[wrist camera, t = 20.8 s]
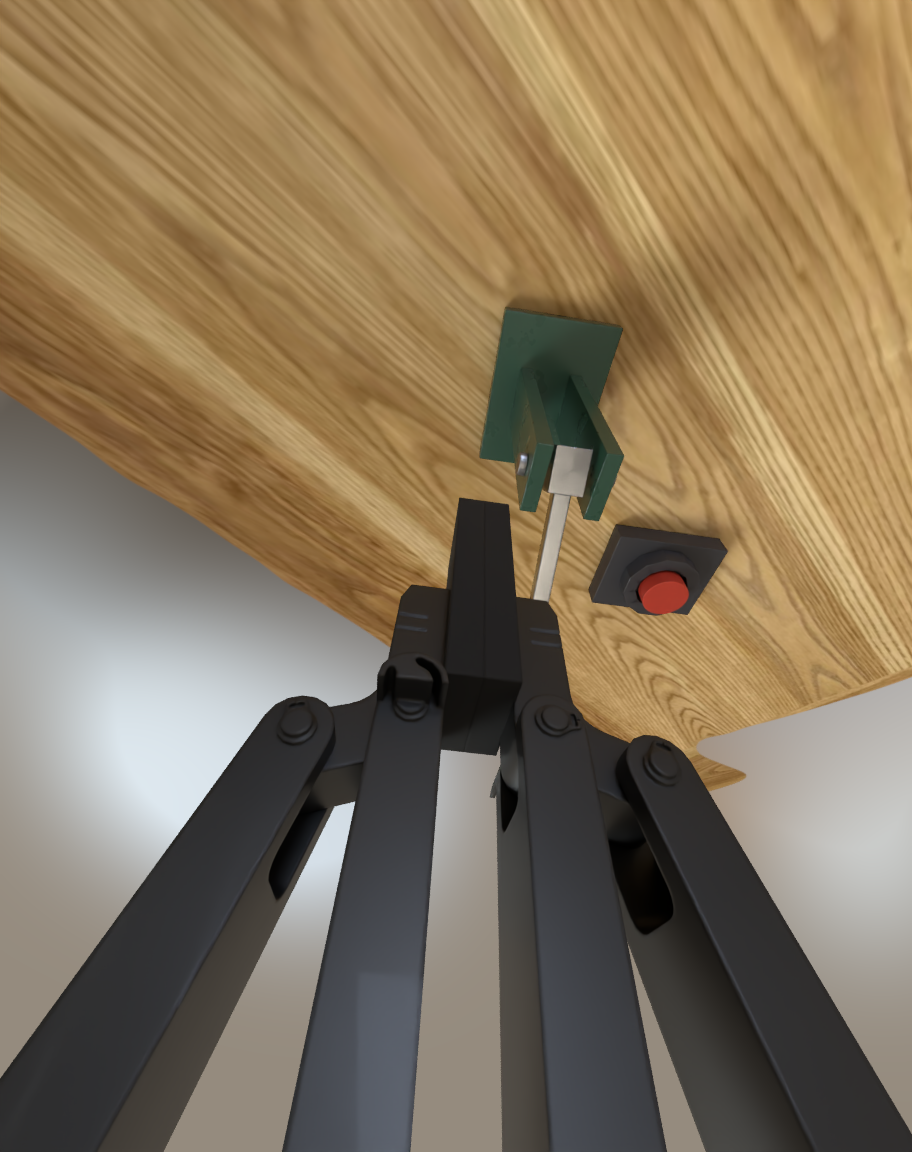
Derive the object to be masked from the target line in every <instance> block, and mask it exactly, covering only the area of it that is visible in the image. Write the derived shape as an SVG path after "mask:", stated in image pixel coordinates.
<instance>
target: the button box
mask: <svg viewBox="0 0 912 1152" xmlns="http://www.w3.org/2000/svg"><path fill="white" fill-rule="evenodd" d="M727 552H728V551H727V549H726V548H725V546H724V545H723V543H722V542H721V540H720V539H717V538H710V537H702V536H695V535H688V534H681V533H674V532H667V531H660V530H652V529H645V528H638V527H631V526H624V525H616V526H615V528H614V531H613V533H612V535H611V538H610V540H609V543H608V545H607V547H606V550H605V552H604V554H603V557H602V559H601V561H600V564H599V566H598V569H597V571H596V573H595V576H594V578H593V580H592V583H591V585H590V587H589V593H590V597H591V600H592V602H594V603H601V604H609V605H617V606H624V607H630V608H632V609H633V610H634V611H636V612H637V613H640V614H648V615H655V616H657V615H662V614H655V613H651V612H649V611H648V610H646V609H645V608H644V606H643V604H642V601H641V599H640V596H639V593H638V588H639V585H640V583H641V582H642V581H643V580H644V579H645V578H646V577H647V576H649V575H651V574H653V573H656V572H660V571H672V572H675V573H677V574H679V575H680V576H681V577H682V579H683V581H684V583H685V585H686V587H687V589H688V592H689V596H688V599H687V601H686V603H685V604H684V605H683V606H682V607H680V608H679V609H677V610H675V611H673V612H670V613H677V614H685V615H688V613H689V612H690V610H691V609H692V607H693V605H694V604H695V602H696V601H697V599H698V598H699V596H700V594H701V593H702V591H703V590H704V588H705V587H706V585H707V583H708V582H709V580H710V579H711V577H712V576H713V574H714V573H715V571H716V569H717V568H718V566H719V565H720V563H721V562H722V560H723V558H724V557H725V555H726V554H727Z"/></svg>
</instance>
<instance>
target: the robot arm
mask: <svg viewBox="0 0 912 1152" xmlns="http://www.w3.org/2000/svg"><path fill="white" fill-rule="evenodd" d="M559 633H560V631H559V625H558V619H557V615H556V614H555V612H554V611H553V609H552V608H551V607H550V605H549V604H548V602H547V601H543V600H536V599H528V598H520V597H516V590H515V577H514V565H513V552H512V539H511V526H510V514H509V505H508V504H501V503H494V502H487V501H480V500H473V499H465V498H459V504H458V510H457V517H456V523H455V529H454V536H453V542H452V549H451V555H450V561H449V568H448V578H447V588H446V589H442V588H435V587H427V586H419V585H411V586H410V587H409V588H408V590H407V591H406V592H405V593H404V594H403V595H402V596H401V600H400V604H399V609H398V615H397V619H396V624H395V628H394V633H393V638H392V643H391V648H390V652H389V658H388V660H387V661H386V662H384V663H383V664H382V666H381V668H380V671H379V673H378V677H377V690H376V691H375V692H373V693H372V694H371V695H370V696H368V697H366V698H365V699H362V700H360V701H357V702H353V703H350V704H345V705H338V706H333V707H329V706H328V705H327V704H326V703H324V702H323V701H321V700H319V699H318V698H315V697H309V696H298V697H291V698H287V699H286V700H283V701H281V702H280V703H277V704H275V705H274V706H273V707H272V708H271V709H270V710H269V711H268V712H267V713H266V714H265V716H264V717H263V718H262V719H261V721H260V722H259V724H258V725H257V726H256V728H255V729H254V730H253V732H252V733H251V735H250V736H249V737H248V739H247V740H246V741H245V743H244V744H243V746H242V747H241V748H240V750H239V751H238V752H237V754H236V755H235V757H234V758H233V759H232V761H231V762H230V763H229V765H228V766H227V768H226V769H225V770H224V772H223V773H222V775H221V776H220V777H219V779H218V780H217V781H216V783H215V784H214V785H213V787H212V788H211V790H210V791H209V793H208V794H207V795H206V796H205V798H204V799H203V801H202V802H201V803H200V805H199V806H198V807H197V809H196V810H195V812H194V813H193V814H192V816H191V817H190V818H189V820H188V821H187V823H186V824H185V825H184V827H183V828H182V829H181V831H180V832H179V834H178V835H177V836H176V838H175V839H174V840H173V842H172V843H171V845H170V846H169V848H168V849H167V850H166V851H165V853H164V854H163V856H162V857H161V858H160V860H159V861H158V863H157V864H156V865H155V867H154V868H153V869H152V871H151V872H150V873H149V875H148V876H147V878H146V879H145V881H144V882H143V883H142V884H141V886H140V887H139V889H138V890H137V891H136V893H135V894H134V895H133V897H132V898H131V900H130V901H129V903H128V904H127V905H126V906H125V908H124V909H123V911H122V912H121V913H120V915H119V916H118V917H117V919H116V920H115V922H114V923H113V925H112V926H111V927H110V928H109V930H108V931H107V933H106V934H105V935H104V937H103V938H102V939H101V941H100V942H99V944H98V945H97V946H96V948H95V949H94V950H93V952H92V953H91V955H90V956H89V957H88V959H87V960H86V962H85V963H84V964H83V966H82V967H81V968H80V970H79V971H78V973H77V974H76V975H75V977H74V978H73V979H72V981H71V982H70V983H69V985H68V986H67V988H66V989H65V990H64V992H63V993H62V994H61V996H60V997H59V999H58V1000H57V1001H56V1003H55V1004H54V1005H53V1007H52V1008H51V1010H50V1011H49V1012H48V1014H47V1015H46V1016H45V1018H44V1019H43V1021H42V1022H41V1023H40V1025H39V1026H38V1027H37V1029H36V1031H35V1032H34V1033H33V1034H32V1036H31V1037H30V1038H29V1040H28V1041H27V1043H26V1044H25V1045H24V1047H23V1048H22V1050H21V1051H20V1052H19V1054H18V1055H17V1056H16V1058H15V1059H14V1060H13V1062H12V1063H11V1065H10V1066H9V1067H8V1069H7V1070H6V1071H5V1073H4V1074H3V1076H2V1077H1V1078H0V1152H164V1150H165V1148H166V1146H167V1144H168V1142H169V1139H170V1137H171V1135H172V1133H173V1131H174V1129H175V1127H176V1125H177V1123H178V1121H179V1119H180V1117H181V1115H182V1113H183V1111H184V1109H185V1107H186V1105H187V1103H188V1101H189V1099H190V1097H191V1095H192V1093H193V1091H194V1089H195V1087H196V1085H197V1083H198V1081H199V1079H200V1077H201V1075H202V1073H203V1071H204V1069H205V1067H206V1065H207V1063H208V1061H209V1058H210V1057H211V1055H212V1053H213V1051H214V1048H215V1047H216V1044H217V1043H218V1041H219V1038H220V1037H221V1035H222V1033H223V1030H224V1028H225V1026H226V1024H227V1022H228V1020H229V1018H230V1016H231V1014H232V1012H233V1010H234V1008H235V1006H236V1004H237V1002H238V1000H239V998H240V996H241V994H242V992H243V990H244V988H245V986H246V984H247V982H248V980H249V978H250V976H251V974H252V972H253V970H254V968H255V966H256V964H257V962H258V960H259V958H260V956H261V954H262V952H263V950H264V948H265V946H266V944H267V941H268V939H269V938H270V935H271V934H272V932H273V930H274V927H275V925H276V923H277V921H278V919H279V917H280V915H281V913H282V911H283V909H284V907H285V905H286V903H287V901H288V899H289V897H290V895H291V893H292V891H293V889H294V887H295V885H296V883H297V881H298V879H299V877H300V875H301V873H302V871H303V869H304V867H305V865H306V863H307V861H308V859H309V857H310V855H311V853H312V851H313V849H314V847H315V845H316V842H317V841H318V839H319V837H320V835H321V833H322V831H323V828H324V827H325V825H326V822H327V821H328V819H329V817H330V814H331V812H332V810H333V808H334V806H338V805H342V804H346V803H350V802H354V801H355V806H354V811H353V816H352V821H351V825H350V830H349V835H348V840H347V844H346V849H345V854H344V859H343V863H342V869H341V873H340V878H339V883H338V887H337V892H336V897H335V902H334V907H333V911H332V916H331V921H330V925H329V930H328V935H327V940H326V944H325V949H324V954H323V959H322V963H321V969H320V973H319V979H318V983H317V987H316V992H315V997H314V1002H313V1006H312V1011H311V1016H310V1021H309V1026H308V1030H307V1035H306V1040H305V1045H304V1049H303V1054H302V1059H301V1064H300V1068H299V1074H298V1078H297V1083H296V1087H295V1092H294V1097H293V1102H292V1107H291V1111H290V1116H289V1121H288V1125H287V1131H286V1135H285V1140H284V1144H283V1150H282V1152H410V1147H411V1135H412V1122H413V1109H414V1095H415V1081H416V1068H417V1056H418V1041H419V1030H420V1017H421V1016H420V1015H421V1003H422V989H423V977H424V964H425V951H426V937H427V923H428V911H429V898H430V884H431V871H432V857H433V845H434V844H433V843H434V831H435V819H436V818H435V817H436V806H437V791H438V779H439V766H440V753H441V749H442V750H451V751H459V752H468V753H478V754H486V755H495V756H496V755H497V752H498V749H499V746H500V758H501V765H500V767H499V770H498V773H497V775H496V778H495V780H494V783H493V786H492V789H491V794H490V797H491V798H495V796H496V798H497V799H496V802H497V803H496V804H497V859H498V860H497V862H498V920H499V976H500V977H499V979H500V1031H501V1032H500V1036H501V1095H502V1152H667V1150H666V1144H665V1139H664V1134H663V1128H662V1123H661V1118H660V1113H659V1107H658V1102H657V1097H656V1092H655V1086H654V1081H653V1075H652V1070H651V1065H650V1059H649V1054H648V1049H647V1044H646V1038H645V1033H644V1028H643V1023H642V1017H641V1012H640V1007H639V1001H638V996H637V991H636V986H635V980H634V975H633V970H632V965H631V959H630V954H629V949H628V944H629V947H630V949H631V952H632V955H633V957H634V960H635V963H636V966H637V968H638V971H639V974H640V976H641V979H642V982H643V984H644V987H645V990H646V992H647V995H648V998H649V1000H650V1003H651V1006H652V1009H653V1011H654V1014H655V1016H656V1019H657V1022H658V1024H659V1027H660V1030H661V1033H662V1035H663V1038H664V1041H665V1043H666V1046H667V1049H668V1051H669V1054H670V1057H671V1059H672V1062H673V1064H674V1067H675V1070H676V1073H677V1075H678V1078H679V1081H680V1083H681V1086H682V1089H683V1091H684V1094H685V1097H686V1099H687V1102H688V1105H689V1108H690V1110H691V1113H692V1116H693V1118H694V1121H695V1124H696V1126H697V1129H698V1132H699V1134H700V1137H701V1140H702V1142H703V1145H704V1148H705V1150H706V1152H912V1134H911V1132H910V1130H909V1129H908V1127H907V1125H906V1124H905V1122H904V1120H903V1119H902V1117H901V1115H900V1113H899V1112H898V1110H897V1108H896V1107H895V1105H894V1103H893V1102H892V1100H891V1098H890V1097H889V1095H888V1093H887V1092H886V1090H885V1088H884V1086H883V1085H882V1083H881V1081H880V1080H879V1078H878V1076H877V1075H876V1073H875V1071H874V1070H873V1068H872V1066H871V1065H870V1063H869V1061H868V1060H867V1058H866V1056H865V1054H864V1053H863V1051H862V1049H861V1048H860V1046H859V1044H858V1043H857V1041H856V1039H855V1038H854V1036H853V1034H852V1033H851V1031H850V1029H849V1028H848V1026H847V1024H846V1022H845V1021H844V1019H843V1017H842V1016H841V1014H840V1012H839V1011H838V1009H837V1007H836V1006H835V1004H834V1002H833V1001H832V999H831V997H830V996H829V994H828V992H827V990H826V989H825V987H824V986H823V984H822V982H821V980H820V979H819V977H818V975H817V974H816V972H815V970H814V969H813V967H812V965H811V964H810V962H809V960H808V959H807V957H806V955H805V954H804V952H803V950H802V948H801V947H800V945H799V943H798V942H797V940H796V938H795V937H794V935H793V933H792V932H791V930H790V928H789V927H788V925H787V923H786V921H785V920H784V918H783V916H782V915H781V913H780V911H779V910H778V908H777V906H776V905H775V903H774V901H773V900H772V898H771V896H770V895H769V893H768V891H767V889H766V888H765V886H764V885H763V883H762V881H761V879H760V878H759V876H758V874H757V873H756V871H755V869H754V868H753V866H752V864H751V863H750V861H749V859H748V857H747V856H746V854H745V852H744V851H743V849H742V847H741V846H740V844H739V843H738V841H737V839H736V837H735V836H734V834H733V833H732V831H731V829H730V827H729V825H728V824H727V822H726V821H725V819H724V817H723V815H722V814H721V812H720V810H719V809H718V807H717V805H716V804H715V802H714V800H713V799H712V797H711V795H710V794H709V792H708V790H707V788H706V787H705V785H704V783H703V782H702V780H701V778H700V777H699V775H698V773H697V772H696V770H695V768H694V767H693V765H692V763H691V762H690V761H689V759H688V758H687V757H686V755H685V754H684V753H683V752H682V751H681V750H680V749H679V748H677V747H676V746H675V745H674V744H672V743H671V742H670V741H667V740H665V739H662V738H660V737H658V736H650V735H643V736H640V737H637V738H634V739H633V740H632V742H631V743H628V742H626V741H623V740H621V739H619V738H616V737H614V736H611V735H609V734H607V733H604V732H602V731H600V730H598V729H597V728H595V727H593V726H592V725H591V724H589V723H588V722H587V721H585V720H584V718H583V716H582V714H581V713H580V711H579V710H578V709H577V708H576V707H575V706H574V704H573V702H572V698H571V695H570V689H569V683H568V677H567V671H566V666H565V660H564V654H563V648H562V642H561V637H560V635H559ZM627 942H628V943H627Z"/></svg>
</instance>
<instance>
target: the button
mask: <svg viewBox="0 0 912 1152" xmlns="http://www.w3.org/2000/svg"><path fill="white" fill-rule="evenodd" d="M638 593H639V596H640V599H641V601H642V604H643V606H644V608H645V609H646V610H648V611H649V612H651V613H655V614H666V613H670V612H673V611H675V610H677V609H679V608H680V607H682V606H683V605H684V604H685V603H686V601H687V599H688V596H689V592H688V589H687V587H686V585H685V583H684V581H683V579H682V577H681V576H680V575H679V574H677V573H675V572H672V571H660V572H656V573H653V574H651V575H649V576H647V577H646V578H645V579H644V580H643V581H642V582H641V583H640V585H639V588H638Z"/></svg>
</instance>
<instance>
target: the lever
mask: <svg viewBox="0 0 912 1152" xmlns="http://www.w3.org/2000/svg"><path fill="white" fill-rule="evenodd" d="M592 455H593V450H590V449H583V448H576V447H570V446H563V445H554V449H553V452H552V456H551V459H550V463H549V466H548V470H547V473H546V477H545V480H544V484H543V488H542V490H544V491H546V492H548V493H550V498H549V504H548V509H547V514H546V519H545V524H544V529H543V534H542V539H541V544H540V549H539V555H538V560H537V565H536V570H535V575H534V580H533V585H532V590H531V595H530V599H536V600H543V601H547V602H548V604H549V599H550V594H551V589H552V584H553V580H554V575H555V570H556V565H557V561H558V556H559V551H560V546H561V541H562V537H563V532H564V527H565V522H566V517H567V513H568V508H569V503H570V498H571V496H575V497H582V498H583V496H584V491H585V487H586V482H587V478H588V473H589V468H590V464H591V459H592Z"/></svg>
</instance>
